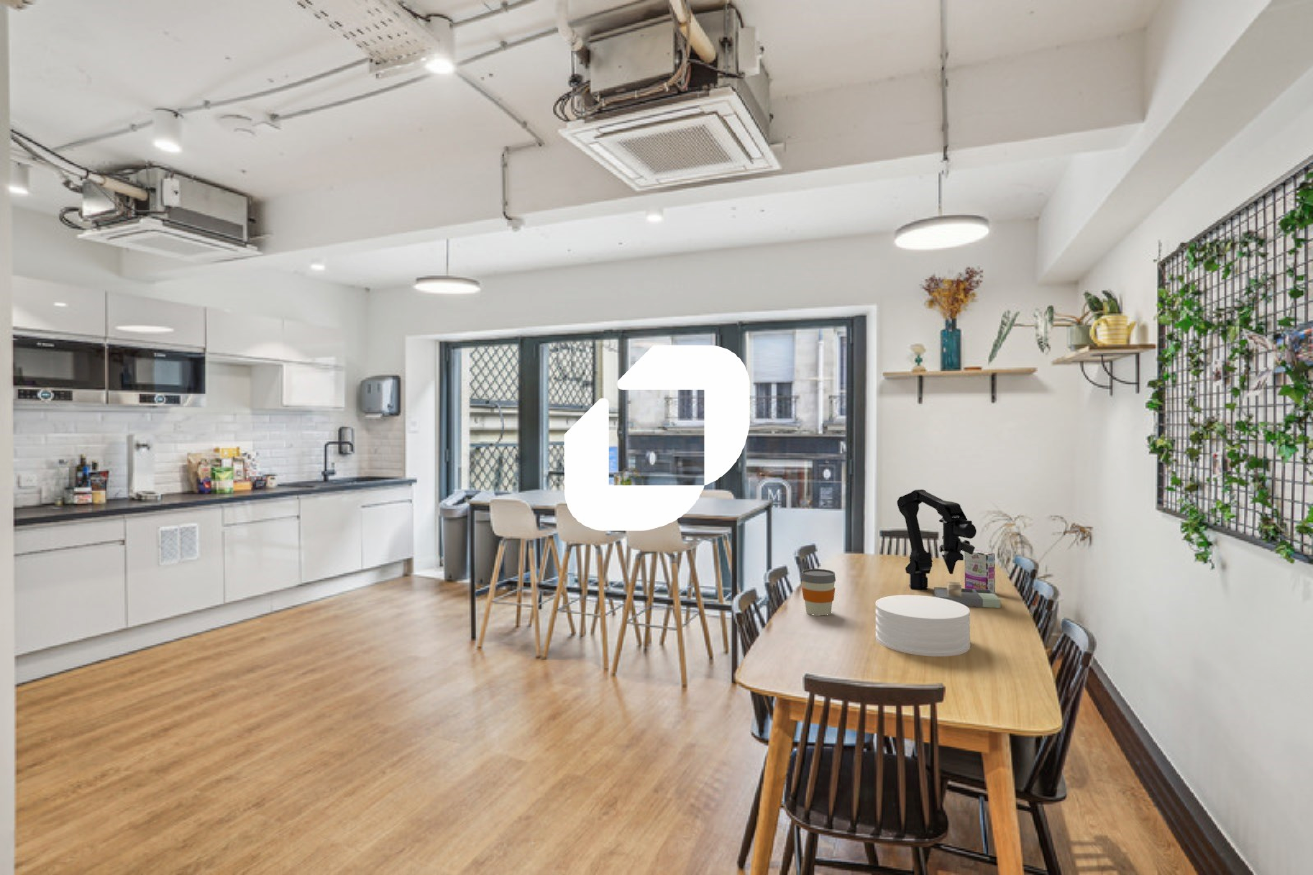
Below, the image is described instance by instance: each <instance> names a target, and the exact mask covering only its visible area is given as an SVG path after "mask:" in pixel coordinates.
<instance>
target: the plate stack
mask: <svg viewBox="0 0 1313 875" xmlns="http://www.w3.org/2000/svg"><path fill="white" fill-rule="evenodd" d="M970 616H971V610H970V608H969V606H965V605H963V604H961V603H958V602H955V601H952V600H948V599H943V598H937V597H935V596H929V595H918V594H898V595H889V596H884V597H881V598H879V599H877V600H876V601H875V640H876V641H877V643H878V644H880V645H882V646H884V647H886V648H888V649H891V650H893V651H897V652H901V653H905V654H911V655H914V656H915V655H916V656H926V657H953V656H959V655H962V654H964V653H967V652H968V651H969V650H970V649H971V642H970V641H971V634H970V633H971V626H970V625H971V618H970Z"/></svg>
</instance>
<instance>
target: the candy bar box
mask: <svg viewBox="0 0 1313 875" xmlns="http://www.w3.org/2000/svg"><path fill="white" fill-rule="evenodd" d="M964 589H986V590H991V591H992V592H993V593H994V594H996V554H995V553H994V552H988V551H983V550H977V549H974V552H973V554H972V555H971V554H969V553H967V552H964Z"/></svg>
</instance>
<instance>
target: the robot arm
mask: <svg viewBox="0 0 1313 875" xmlns="http://www.w3.org/2000/svg"><path fill="white" fill-rule="evenodd" d="M921 504H925V505H927V506H929V507H931V508H933V509H934V510H936V512H937V514H938V515H939V516H941V518H940V519H939V520H938V522H940V523H942V537H941V538H942V544H941V545H939V546H938V547H939V552H940V553H942V552H943V554H941V557H942V559H943V561H944V564H945V566H946V568H947V571H948V574H950V575H953V574H954V570H955V567H956V563H957V562H959V561H965V554H963V553H962V552H964V553H965V552H967V553H969V554H971V555H972V554H973V552H974V550H976V546H974V545H972V544H971V542H970V541H969V540H971V539H973V538H975V537H976V535H977V528H976V526H975V525H974V524H973V520H968V518H967V516H966V514H965V513H964V511H963V509H962V506H961V504H959V502H958V503H957V502H955V501H951V500H950V501H948V500H944V499H941V498H940V497H937V496H936V495H934V494H932V493H929V492H928V491H927V490H925V489H915V490H914V489H913V490H912V491H911V492H908V493H906V494H904V495H901V496H899V497H898V499H897V501H896V505H897V508H898V511H899V512H900V514H901V515H902V517H904V522H905V525H906V529H907V530H906V531H907V535H908V540H909V543H910V548H911V552H910V554H909V563H908V564H907V565H906V567H905V573H906V574H908V575H909V584H908V586H909V588H910V589H911V590H923V591H924V590H925V591H926V590H928V587H929V581H928V580H929V579H928V576H927V574H929V575H930V574H931V570H932V567H933V562H934V561H933V559H932V554H931V552H928V551H927V550H926V549H925V546H924V541H923V538H922V534H921V529H920V523H919V519H918V513H919V510H920V505H921ZM961 538H966V539H965V540H961ZM968 539H969V540H968Z"/></svg>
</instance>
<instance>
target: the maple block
mask: <svg viewBox="0 0 1313 875" xmlns="http://www.w3.org/2000/svg"><path fill="white" fill-rule="evenodd" d="M946 588H947V594H948V596H957V597H961V588H962V584H961V583H960V582H959V581H957V582H956V581H946Z"/></svg>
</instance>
